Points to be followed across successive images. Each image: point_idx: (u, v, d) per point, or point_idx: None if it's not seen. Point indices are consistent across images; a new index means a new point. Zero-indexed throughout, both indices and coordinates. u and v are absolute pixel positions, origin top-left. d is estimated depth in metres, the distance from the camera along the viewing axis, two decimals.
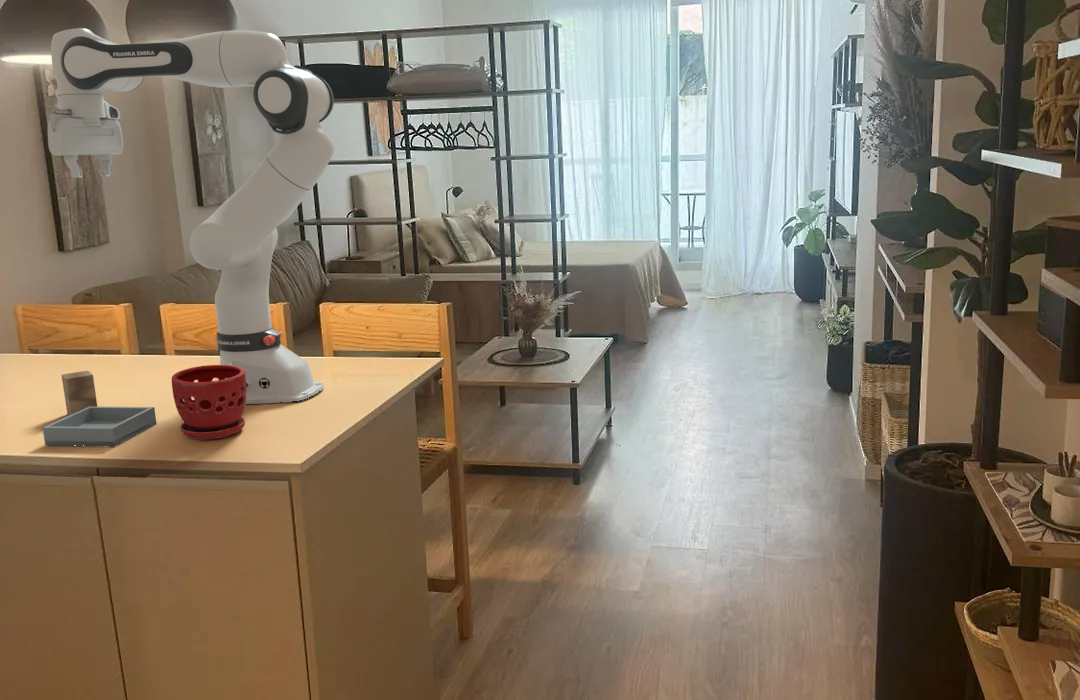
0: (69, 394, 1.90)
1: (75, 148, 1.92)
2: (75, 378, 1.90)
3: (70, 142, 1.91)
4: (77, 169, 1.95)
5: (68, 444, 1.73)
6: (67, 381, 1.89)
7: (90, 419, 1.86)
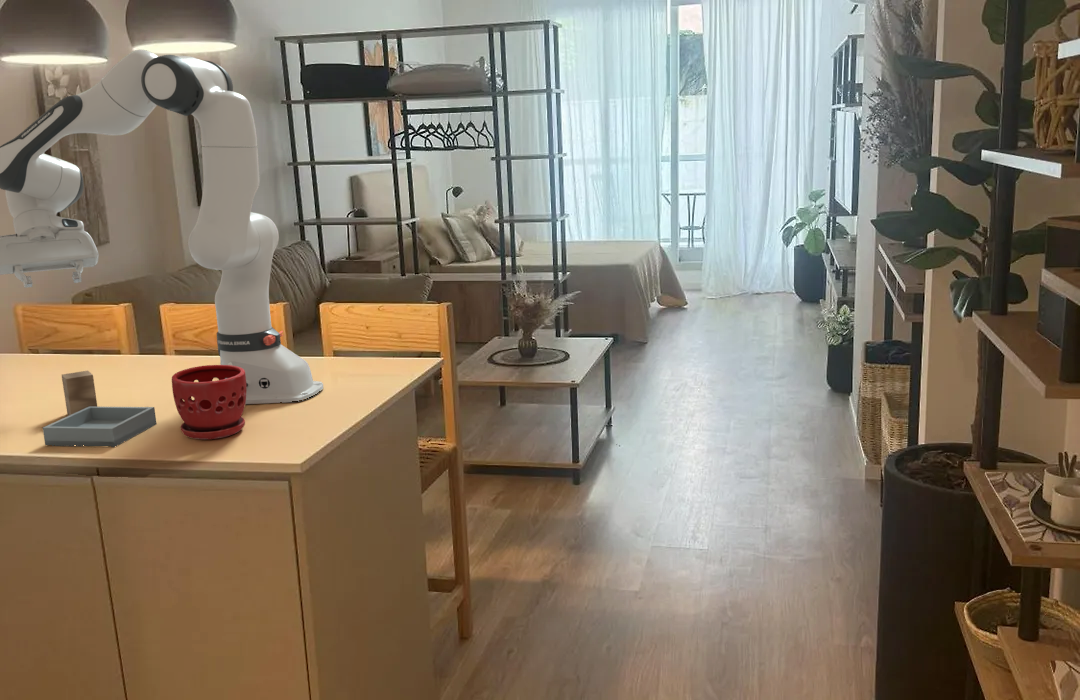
0: (69, 394, 1.90)
1: (13, 258, 1.96)
2: (75, 378, 1.90)
3: (5, 255, 1.95)
4: (23, 277, 1.95)
5: (68, 444, 1.73)
6: (67, 381, 1.89)
7: (90, 419, 1.86)
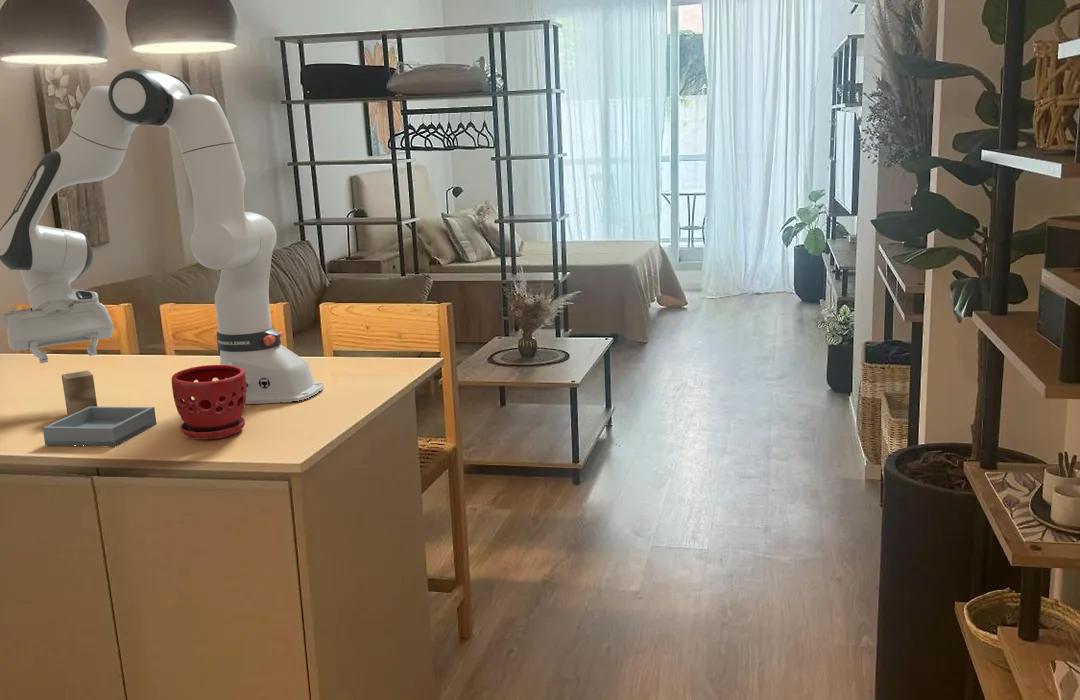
0: (69, 394, 1.90)
1: (28, 334, 1.95)
2: (75, 378, 1.90)
3: (20, 331, 1.95)
4: (38, 353, 1.95)
5: (68, 444, 1.73)
6: (67, 381, 1.89)
7: (90, 419, 1.86)
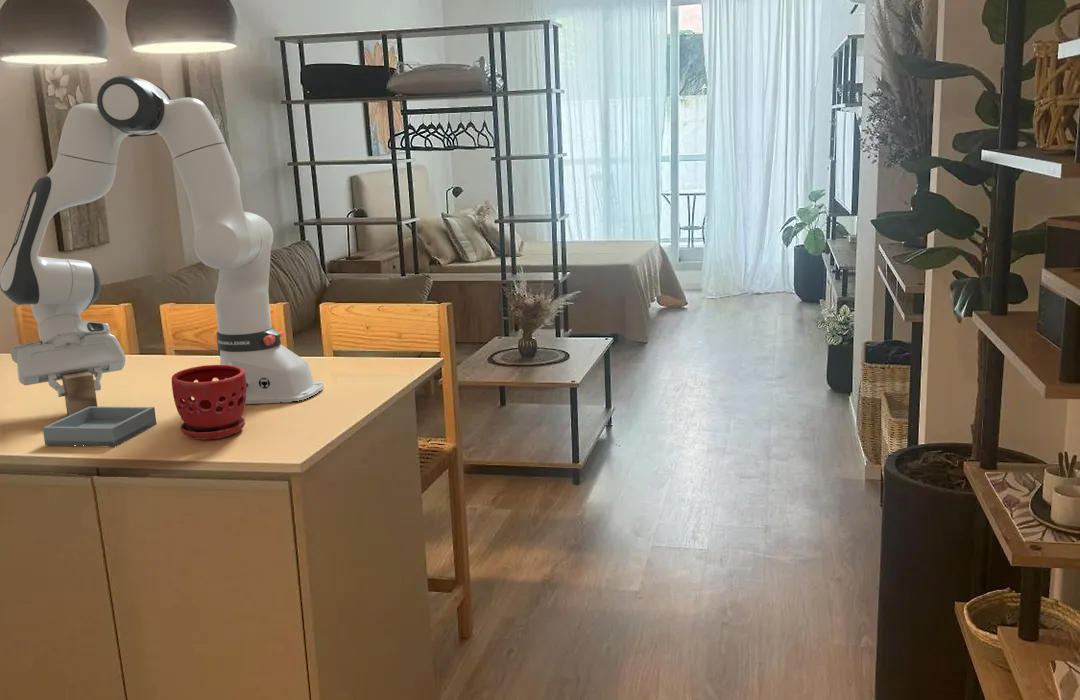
0: (69, 394, 1.90)
1: (38, 369, 1.90)
2: (75, 378, 1.90)
3: (30, 365, 1.90)
4: (57, 386, 1.91)
5: (68, 444, 1.73)
6: (67, 381, 1.89)
7: (90, 419, 1.86)
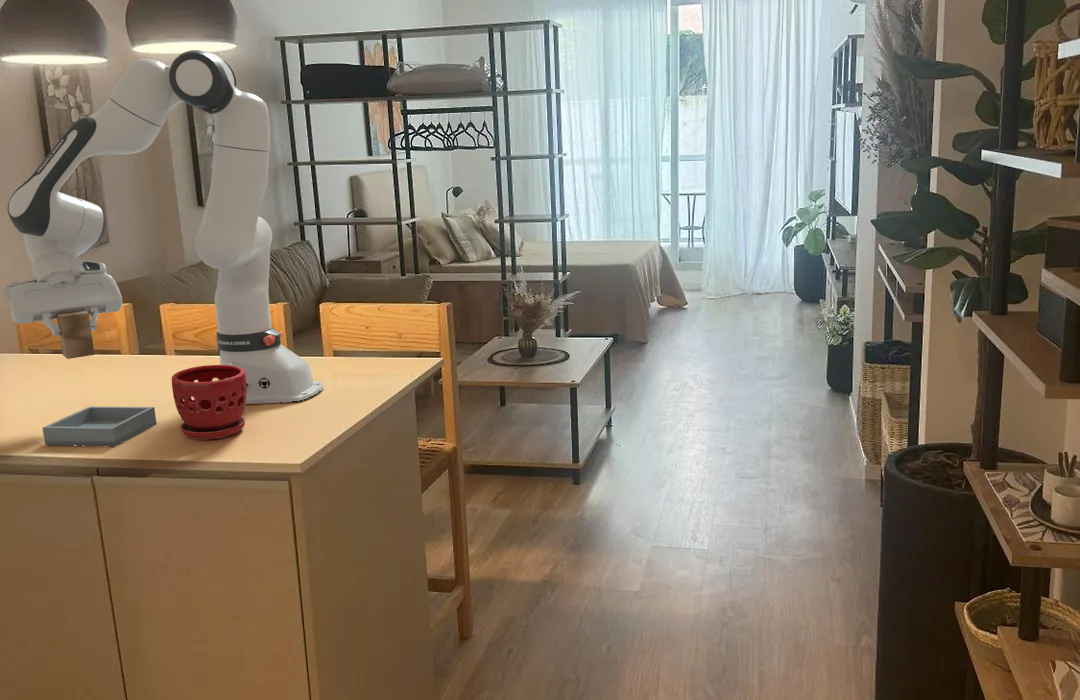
0: (64, 332, 1.84)
1: (32, 306, 1.84)
2: (70, 316, 1.84)
3: (24, 303, 1.84)
4: (52, 325, 1.85)
5: (68, 444, 1.73)
6: (62, 319, 1.83)
7: (90, 419, 1.86)
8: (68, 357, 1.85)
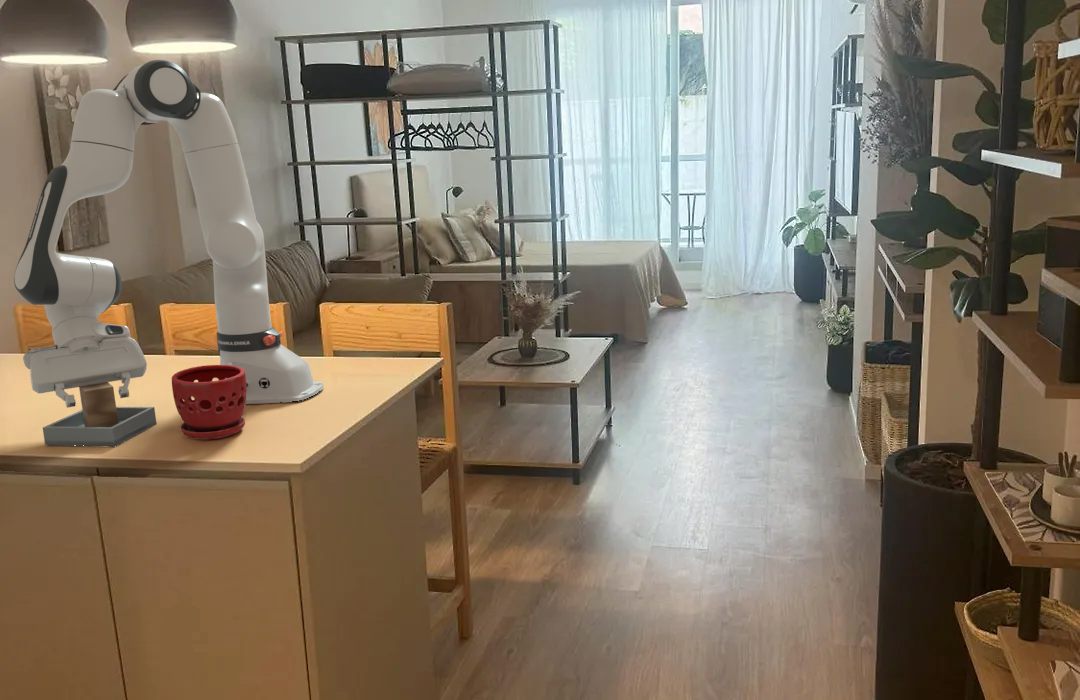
0: (88, 408, 1.75)
1: (53, 375, 1.75)
2: (94, 390, 1.75)
3: (44, 371, 1.75)
4: (65, 396, 1.75)
5: (68, 444, 1.73)
6: (85, 394, 1.74)
7: None
8: None
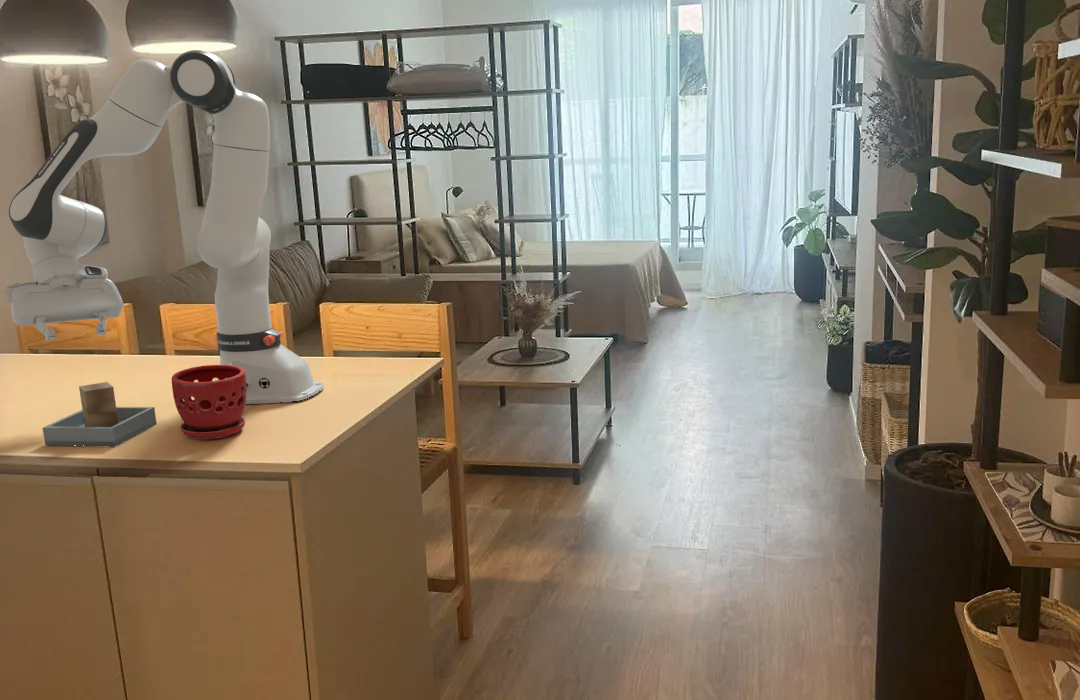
0: (88, 408, 1.75)
1: (34, 309, 1.83)
2: (94, 390, 1.75)
3: (26, 305, 1.83)
4: (45, 329, 1.83)
5: (68, 444, 1.73)
6: (85, 394, 1.74)
7: None
8: None
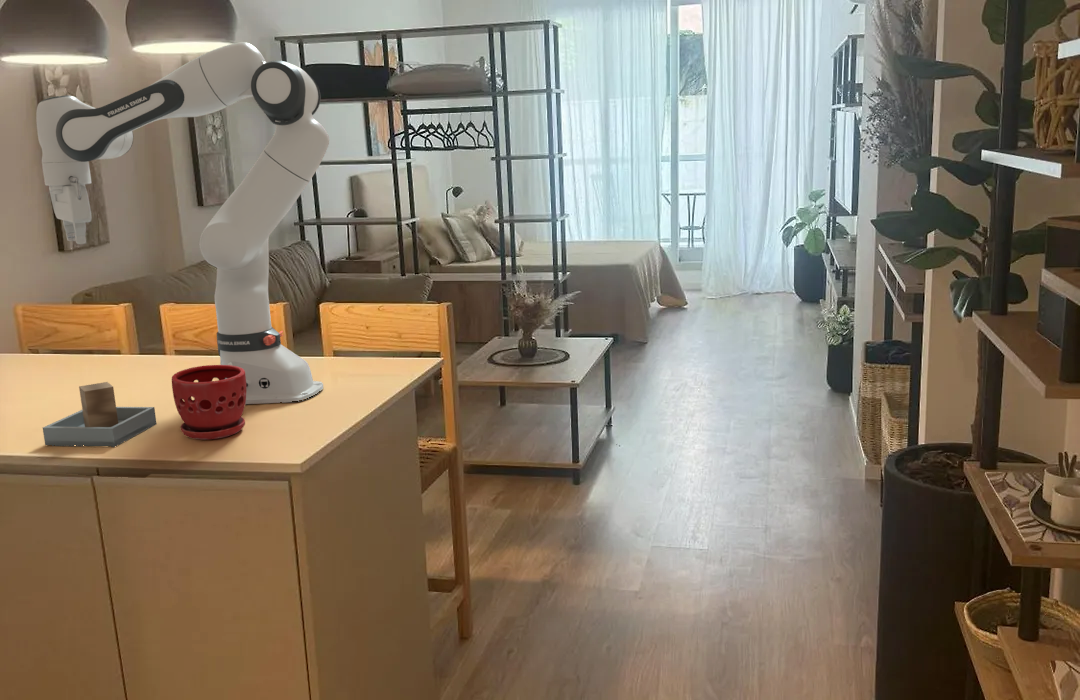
0: (88, 408, 1.75)
1: None
2: (94, 390, 1.75)
3: None
4: (84, 235, 1.96)
5: (68, 444, 1.73)
6: (85, 394, 1.74)
7: None
8: None
